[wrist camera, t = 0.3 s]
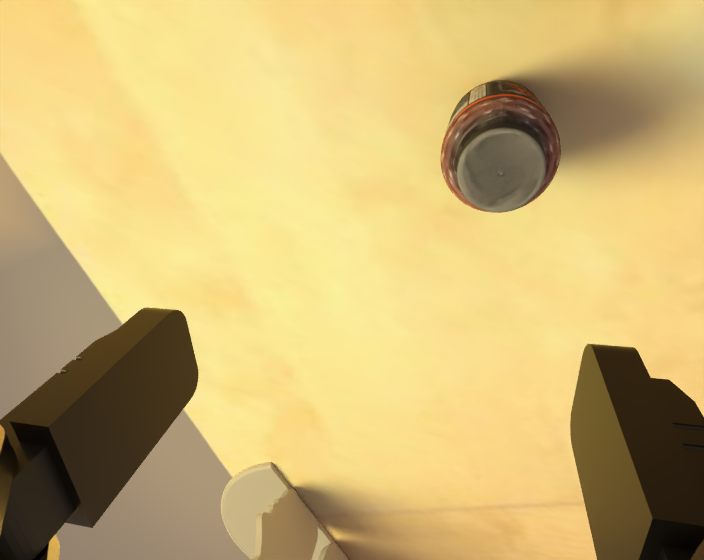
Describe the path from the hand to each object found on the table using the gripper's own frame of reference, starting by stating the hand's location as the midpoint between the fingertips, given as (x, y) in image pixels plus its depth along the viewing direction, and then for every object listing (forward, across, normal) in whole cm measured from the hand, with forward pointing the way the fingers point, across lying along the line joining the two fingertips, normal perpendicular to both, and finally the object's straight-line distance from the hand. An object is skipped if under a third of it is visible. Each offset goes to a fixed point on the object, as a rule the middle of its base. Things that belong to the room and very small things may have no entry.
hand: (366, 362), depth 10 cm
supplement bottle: (+27, -3, 0) cm, 27 cm away
